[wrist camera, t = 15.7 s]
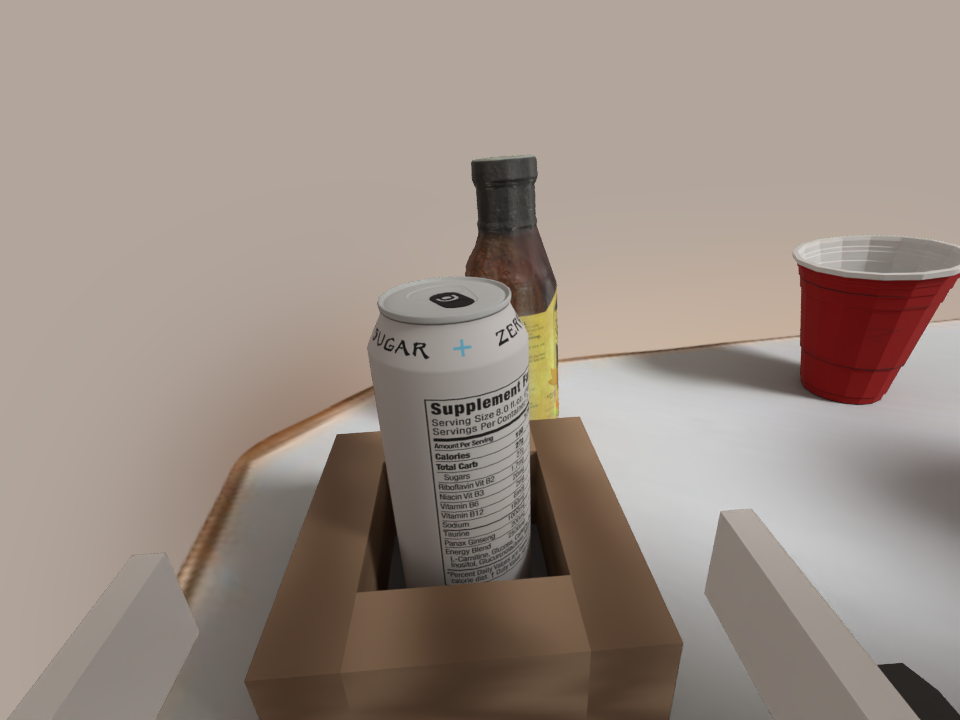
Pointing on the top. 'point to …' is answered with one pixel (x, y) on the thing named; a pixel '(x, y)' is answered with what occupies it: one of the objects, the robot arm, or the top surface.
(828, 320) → the plastic cup
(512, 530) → the energy drink can
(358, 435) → the well block
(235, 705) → the top surface
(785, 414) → the top surface
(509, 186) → the sauce bottle
